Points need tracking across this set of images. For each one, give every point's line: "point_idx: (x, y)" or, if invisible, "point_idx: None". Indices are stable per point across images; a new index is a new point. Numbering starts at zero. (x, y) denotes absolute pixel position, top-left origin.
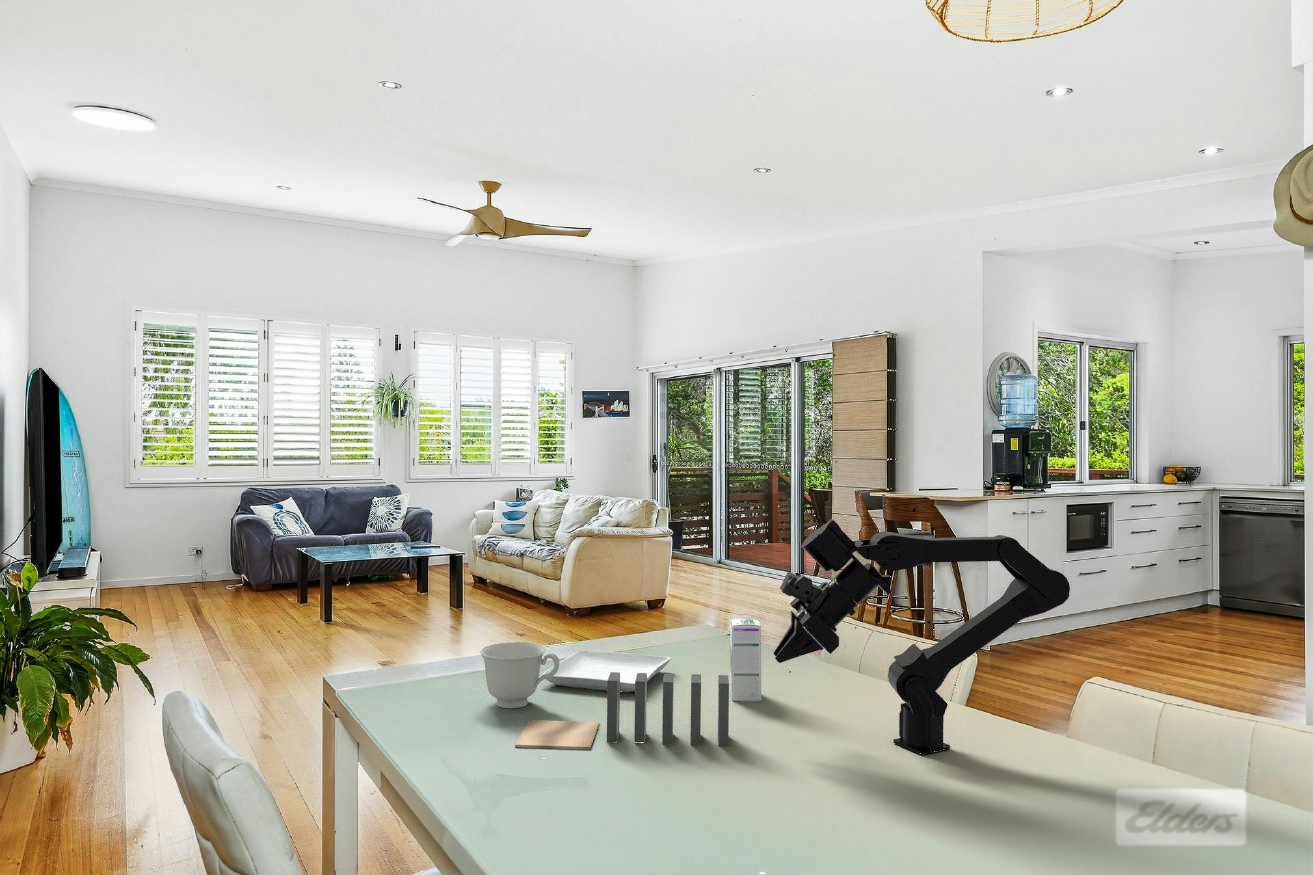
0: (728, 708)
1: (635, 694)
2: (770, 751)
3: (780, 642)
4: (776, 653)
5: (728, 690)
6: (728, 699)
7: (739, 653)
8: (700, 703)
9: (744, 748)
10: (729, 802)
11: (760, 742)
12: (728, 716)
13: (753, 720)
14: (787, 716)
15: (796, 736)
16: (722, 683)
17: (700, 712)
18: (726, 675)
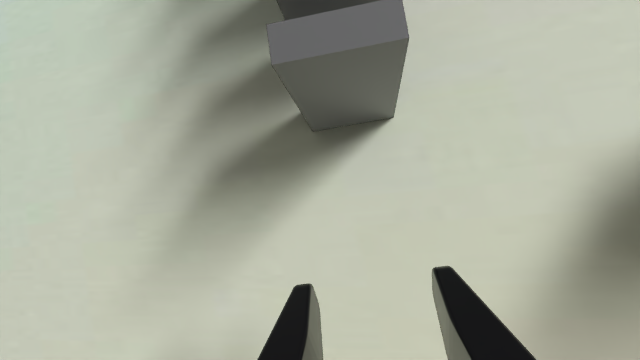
0: (294, 99)
1: None
2: (298, 241)
3: (488, 340)
4: (435, 288)
5: (278, 74)
6: (287, 88)
7: None
8: (278, 3)
9: (304, 173)
10: (5, 176)
11: (359, 210)
12: (299, 107)
13: (551, 174)
14: (631, 280)
15: (436, 310)
16: (269, 38)
17: (285, 19)
18: (401, 32)
